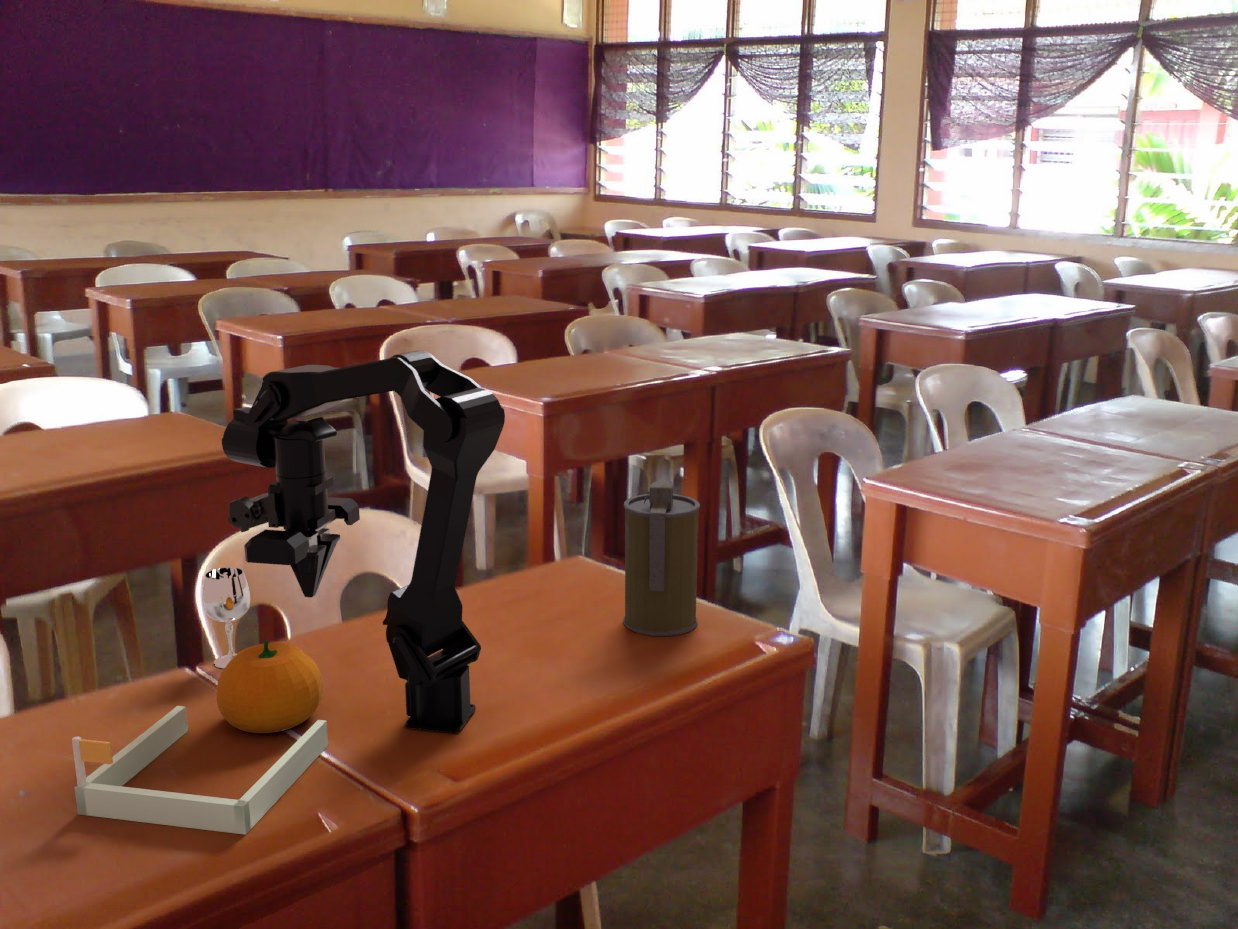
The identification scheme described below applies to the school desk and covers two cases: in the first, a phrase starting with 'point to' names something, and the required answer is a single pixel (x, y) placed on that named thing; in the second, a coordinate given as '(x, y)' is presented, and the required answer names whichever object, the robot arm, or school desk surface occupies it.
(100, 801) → the corral
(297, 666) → the fruit
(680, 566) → the canister
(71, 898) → the school desk surface
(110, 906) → the school desk surface
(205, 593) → the wineglass
